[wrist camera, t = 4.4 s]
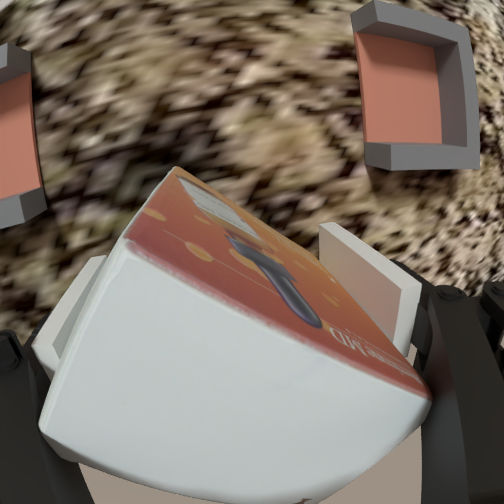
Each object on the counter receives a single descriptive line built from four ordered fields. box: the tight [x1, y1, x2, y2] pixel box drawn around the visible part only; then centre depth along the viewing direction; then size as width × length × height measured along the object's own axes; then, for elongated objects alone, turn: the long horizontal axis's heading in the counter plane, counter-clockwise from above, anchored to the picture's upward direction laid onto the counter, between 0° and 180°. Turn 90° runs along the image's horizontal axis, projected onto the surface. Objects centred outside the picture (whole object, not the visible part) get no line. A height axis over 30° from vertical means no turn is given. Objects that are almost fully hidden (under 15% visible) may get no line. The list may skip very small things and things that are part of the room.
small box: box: [38, 166, 433, 504], centre depth 10 cm, size 8×6×10 cm
